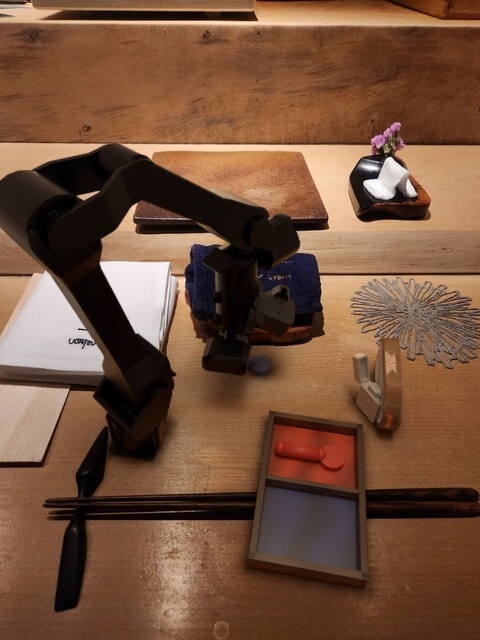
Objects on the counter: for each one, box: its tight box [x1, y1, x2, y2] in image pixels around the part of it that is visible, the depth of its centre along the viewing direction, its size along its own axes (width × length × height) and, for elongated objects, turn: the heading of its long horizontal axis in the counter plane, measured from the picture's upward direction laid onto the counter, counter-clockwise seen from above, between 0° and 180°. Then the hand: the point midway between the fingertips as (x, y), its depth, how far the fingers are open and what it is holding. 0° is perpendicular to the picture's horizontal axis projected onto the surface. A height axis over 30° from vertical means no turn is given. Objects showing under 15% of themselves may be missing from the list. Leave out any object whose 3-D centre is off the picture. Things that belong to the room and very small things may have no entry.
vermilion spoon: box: [275, 442, 345, 472], centre depth 61 cm, size 9×3×2 cm, turn 81°
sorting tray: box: [246, 410, 370, 589], centre depth 58 cm, size 13×20×3 cm, turn 171°
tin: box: [374, 337, 405, 432], centre depth 67 cm, size 15×3×8 cm, turn 168°
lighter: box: [351, 351, 382, 424], centre depth 66 cm, size 7×2×8 cm, turn 26°
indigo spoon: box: [248, 355, 272, 377], centre depth 74 cm, size 9×3×2 cm, turn 80°
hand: (234, 359), depth 74 cm, fingers open, 4 cm apart
